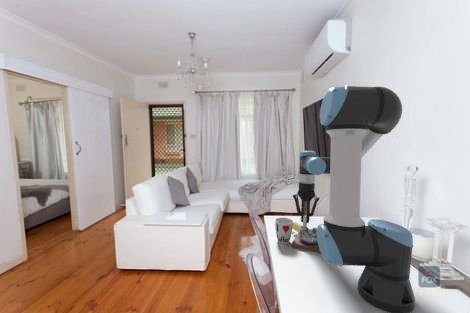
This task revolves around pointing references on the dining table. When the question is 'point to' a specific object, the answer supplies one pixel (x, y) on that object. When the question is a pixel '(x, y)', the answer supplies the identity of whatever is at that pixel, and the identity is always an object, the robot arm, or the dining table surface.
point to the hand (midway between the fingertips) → (304, 228)
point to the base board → (304, 245)
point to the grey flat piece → (306, 234)
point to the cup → (283, 229)
